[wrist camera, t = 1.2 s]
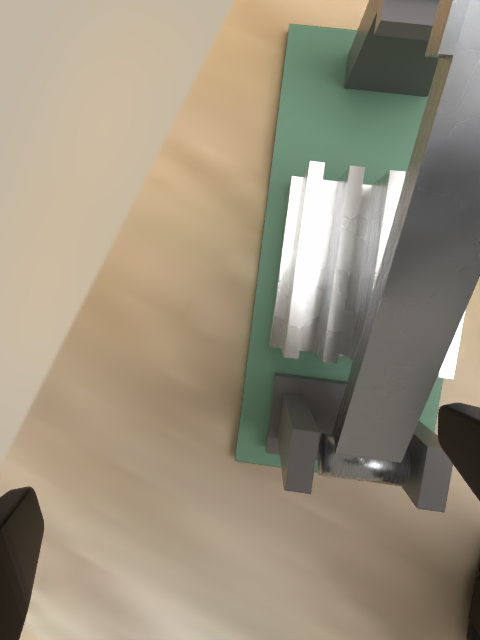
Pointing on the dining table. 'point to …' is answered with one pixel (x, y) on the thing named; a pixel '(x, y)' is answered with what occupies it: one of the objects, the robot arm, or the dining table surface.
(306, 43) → the board
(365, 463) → the strap
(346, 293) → the heatsink
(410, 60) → the post
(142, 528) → the dining table surface
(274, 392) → the hinge post
